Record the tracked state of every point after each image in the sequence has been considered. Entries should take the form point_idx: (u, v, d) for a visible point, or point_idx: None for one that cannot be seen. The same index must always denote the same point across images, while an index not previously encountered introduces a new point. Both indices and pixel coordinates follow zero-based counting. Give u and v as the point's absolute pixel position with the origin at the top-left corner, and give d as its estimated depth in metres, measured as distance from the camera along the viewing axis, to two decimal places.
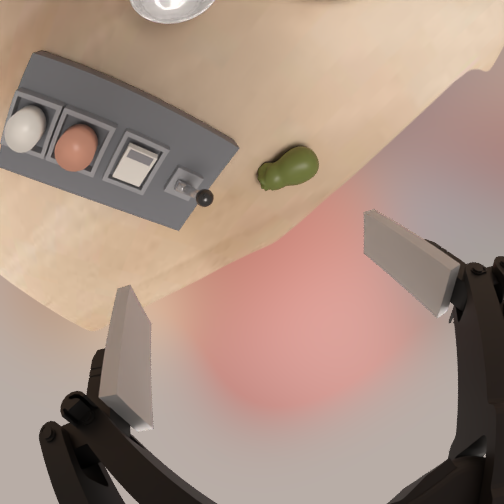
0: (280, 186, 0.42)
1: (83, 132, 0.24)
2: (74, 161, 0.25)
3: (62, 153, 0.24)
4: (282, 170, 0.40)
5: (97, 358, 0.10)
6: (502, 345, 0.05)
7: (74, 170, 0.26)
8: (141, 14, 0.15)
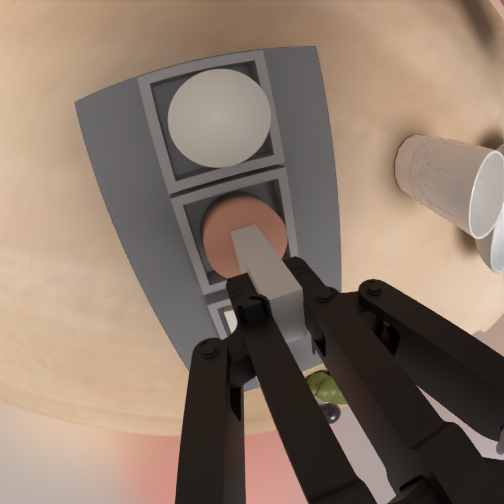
0: (324, 401, 0.34)
1: (285, 233, 0.17)
2: (231, 257, 0.17)
3: (232, 228, 0.16)
4: None
5: (232, 284, 0.12)
6: (393, 374, 0.06)
7: (213, 268, 0.17)
8: (472, 196, 0.15)
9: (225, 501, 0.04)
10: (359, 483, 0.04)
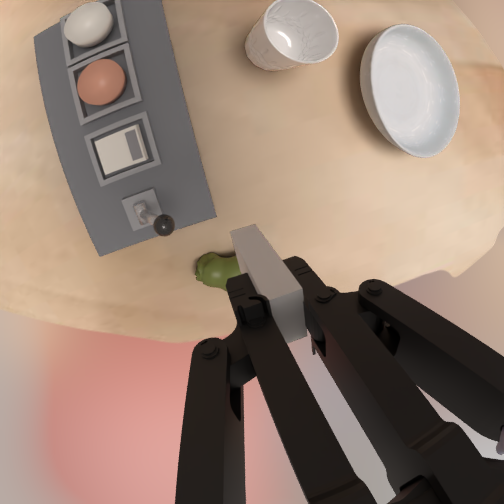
0: (214, 283, 0.37)
1: (122, 73, 0.21)
2: (90, 89, 0.20)
3: (91, 73, 0.19)
4: (227, 268, 0.37)
5: (232, 284, 0.12)
6: (393, 374, 0.06)
7: (81, 98, 0.21)
8: (265, 23, 0.18)
9: (225, 501, 0.04)
10: (359, 483, 0.04)
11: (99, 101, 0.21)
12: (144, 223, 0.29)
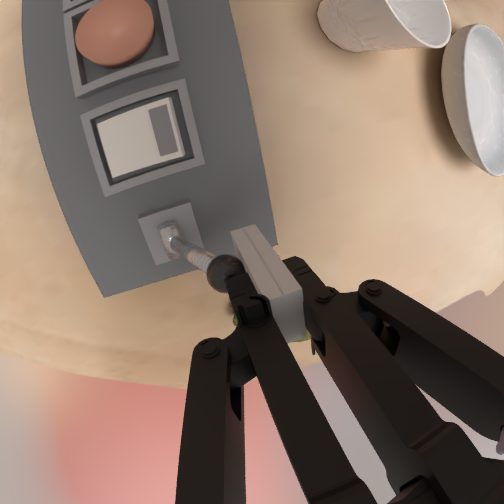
0: None
1: (152, 16, 0.11)
2: (96, 38, 0.11)
3: (100, 14, 0.10)
4: None
5: (232, 284, 0.12)
6: (393, 374, 0.06)
7: None
8: None
9: (225, 501, 0.04)
10: (359, 483, 0.04)
11: (109, 56, 0.11)
12: (176, 257, 0.19)
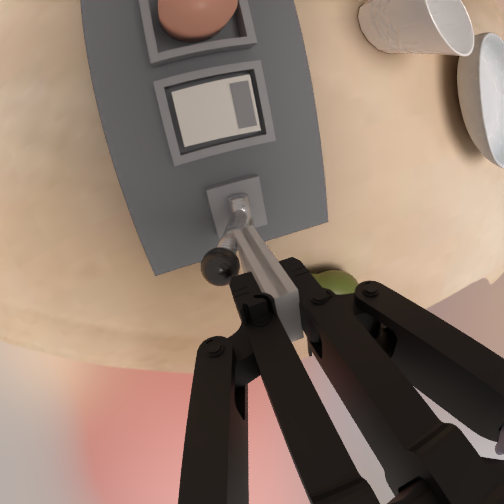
0: None
1: None
2: (181, 8, 0.11)
3: None
4: None
5: (236, 282, 0.12)
6: (390, 375, 0.06)
7: (163, 19, 0.11)
8: None
9: (228, 500, 0.04)
10: (362, 482, 0.04)
11: (196, 27, 0.12)
12: None
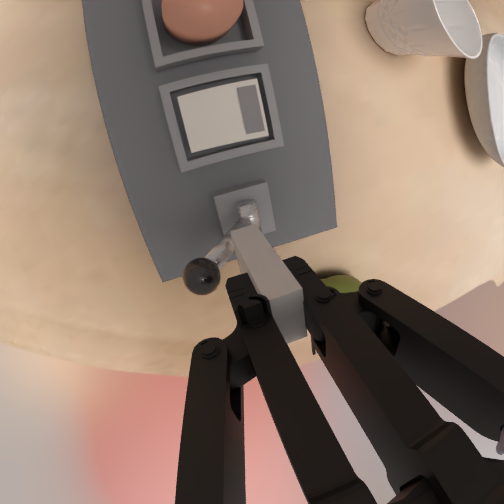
0: None
1: (242, 0, 0.12)
2: (186, 11, 0.11)
3: None
4: None
5: (232, 284, 0.12)
6: (393, 374, 0.06)
7: (167, 22, 0.11)
8: None
9: (225, 501, 0.04)
10: (359, 483, 0.04)
11: (201, 30, 0.12)
12: None
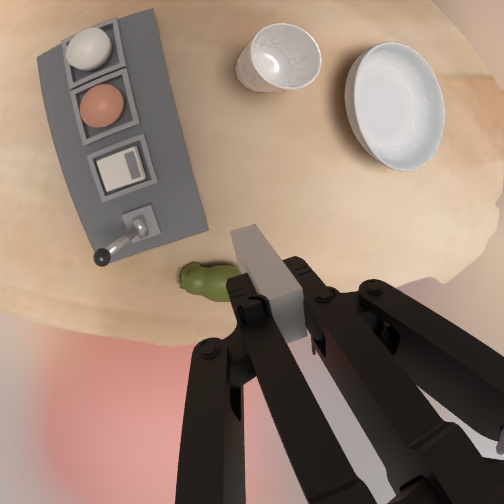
0: (196, 291, 0.39)
1: (121, 98, 0.24)
2: (92, 113, 0.23)
3: (92, 97, 0.23)
4: (208, 277, 0.39)
5: (232, 284, 0.12)
6: (393, 374, 0.06)
7: (84, 121, 0.24)
8: (251, 52, 0.22)
9: (225, 501, 0.04)
10: (359, 483, 0.04)
11: (100, 124, 0.24)
12: None
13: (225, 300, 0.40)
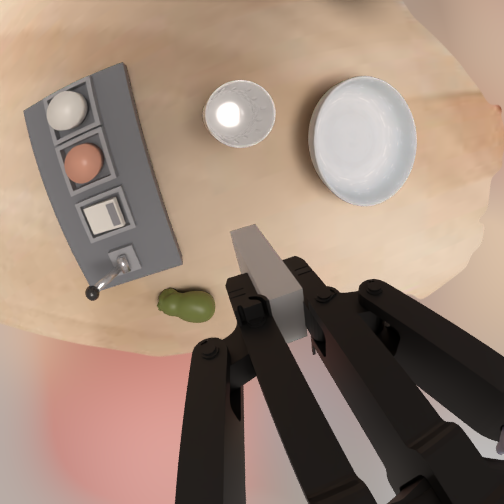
0: (172, 314, 0.44)
1: (98, 157, 0.29)
2: (75, 171, 0.28)
3: (74, 156, 0.28)
4: (181, 302, 0.44)
5: (232, 284, 0.12)
6: (393, 374, 0.06)
7: (69, 177, 0.29)
8: (206, 115, 0.27)
9: (225, 501, 0.04)
10: (359, 483, 0.04)
11: (83, 181, 0.29)
12: None
13: (197, 321, 0.45)
